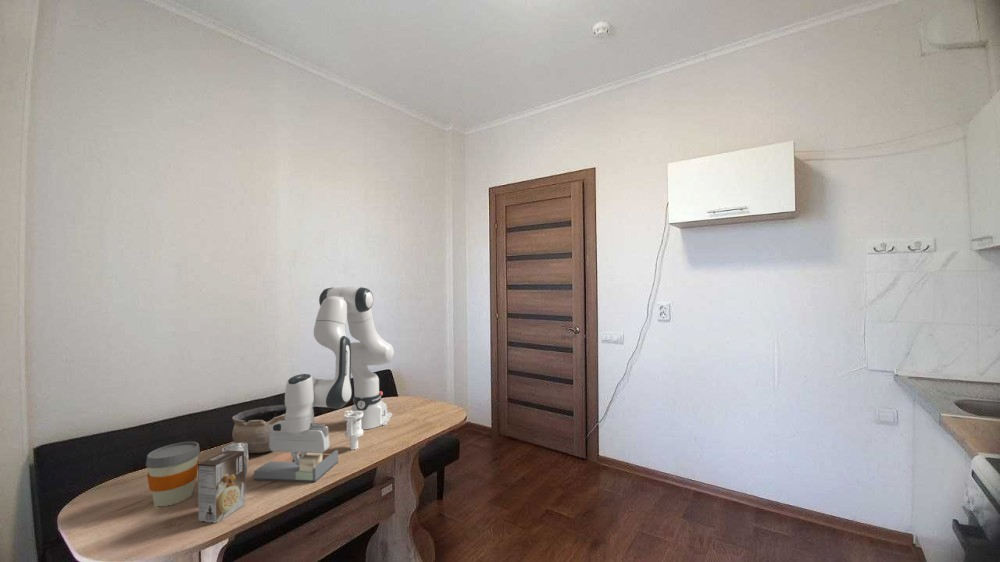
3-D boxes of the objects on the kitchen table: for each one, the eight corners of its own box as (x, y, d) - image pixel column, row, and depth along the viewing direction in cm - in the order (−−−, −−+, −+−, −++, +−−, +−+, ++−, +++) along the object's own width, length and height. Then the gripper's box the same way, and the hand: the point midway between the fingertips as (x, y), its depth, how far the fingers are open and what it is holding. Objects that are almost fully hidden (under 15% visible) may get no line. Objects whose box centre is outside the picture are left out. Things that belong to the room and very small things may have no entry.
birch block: (308, 464, 128) (308, 452, 128) (322, 464, 128) (322, 453, 128) (299, 471, 123) (299, 459, 123) (313, 472, 123) (313, 460, 123)
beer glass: (224, 492, 117) (224, 444, 117) (250, 487, 120) (250, 440, 120) (218, 503, 111) (218, 453, 111) (245, 498, 113) (245, 448, 114)
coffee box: (227, 502, 111) (227, 449, 111) (245, 504, 110) (245, 450, 110) (197, 521, 102) (197, 463, 102) (216, 524, 101) (216, 465, 101)
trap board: (282, 460, 138) (282, 448, 138) (338, 462, 136) (338, 450, 136) (254, 480, 124) (254, 466, 124) (315, 482, 122) (315, 468, 122)
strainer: (349, 444, 151) (349, 408, 152) (366, 444, 151) (366, 408, 152) (341, 452, 144) (341, 413, 145) (359, 452, 144) (358, 413, 145)
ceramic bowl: (224, 465, 135) (224, 424, 135) (238, 443, 155) (238, 407, 155) (293, 453, 144) (293, 415, 145) (298, 434, 164) (298, 400, 164)
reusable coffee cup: (172, 487, 120) (172, 441, 121) (210, 487, 120) (210, 441, 120) (133, 510, 108) (133, 458, 108) (174, 510, 107) (175, 458, 108)
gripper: (333, 420, 129) (333, 460, 128) (278, 419, 131) (279, 458, 130) (322, 427, 122) (322, 469, 122) (265, 426, 125) (265, 467, 124)
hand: (299, 463), depth 126 cm, fingers closed
